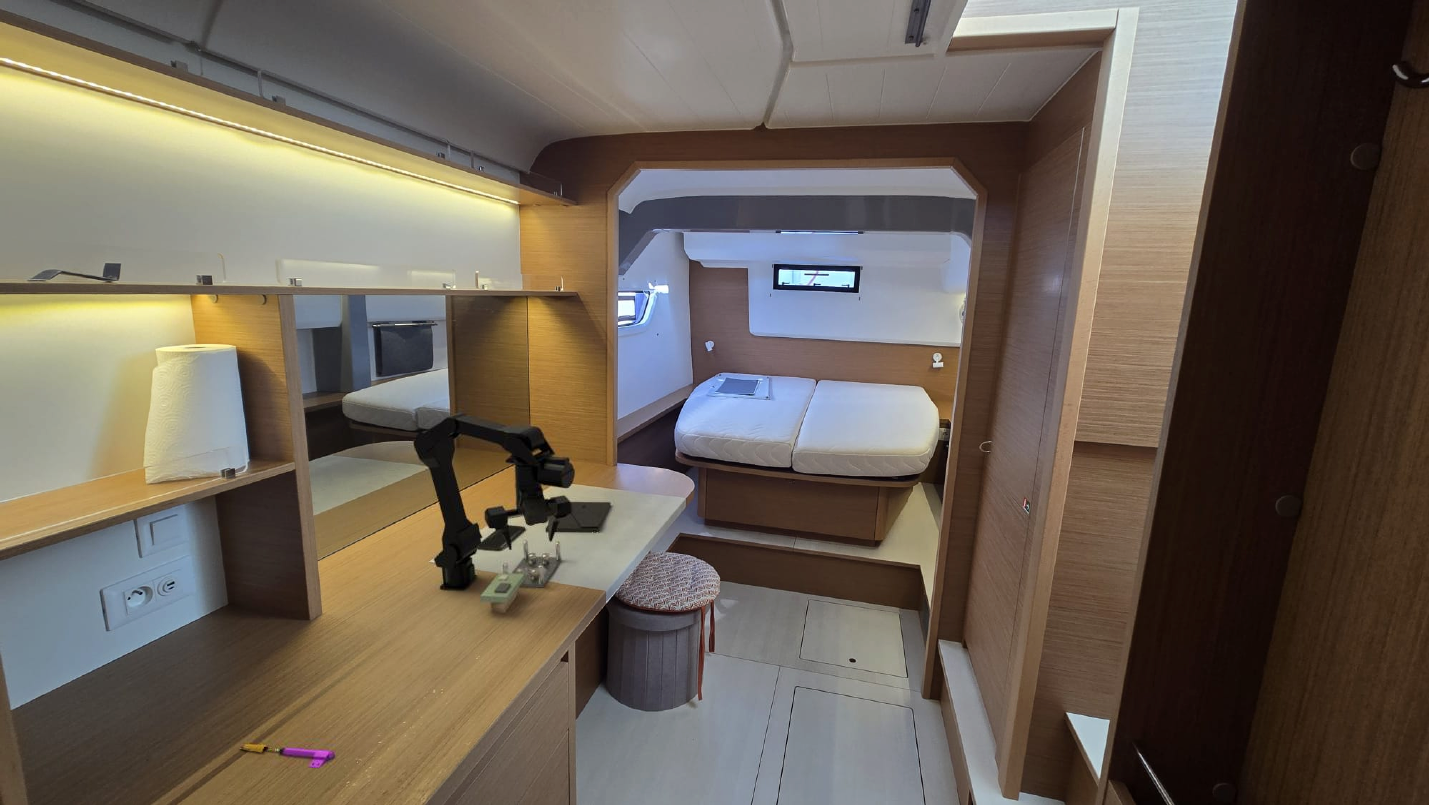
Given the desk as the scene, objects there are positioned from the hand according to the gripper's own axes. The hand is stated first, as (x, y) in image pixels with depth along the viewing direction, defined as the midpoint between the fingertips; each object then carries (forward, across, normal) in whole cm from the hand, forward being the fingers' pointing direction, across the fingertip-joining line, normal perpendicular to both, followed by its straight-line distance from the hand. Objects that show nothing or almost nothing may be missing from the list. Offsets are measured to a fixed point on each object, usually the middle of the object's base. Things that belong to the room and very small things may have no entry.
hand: (530, 545), depth 130 cm
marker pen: (+14, -45, -27) cm, 54 cm away
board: (+10, -6, 0) cm, 12 cm away
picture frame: (+14, +25, +38) cm, 48 cm away
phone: (+14, 0, +36) cm, 38 cm away
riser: (+13, -6, 0) cm, 15 cm away
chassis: (+13, +3, +11) cm, 18 cm away
